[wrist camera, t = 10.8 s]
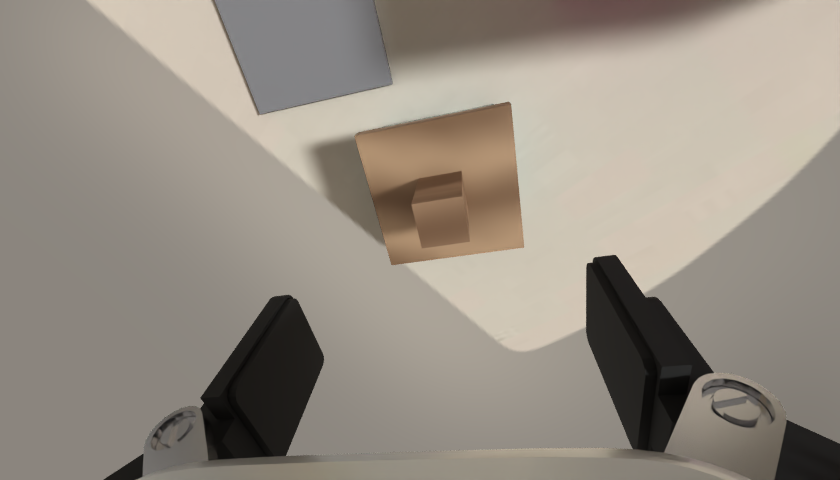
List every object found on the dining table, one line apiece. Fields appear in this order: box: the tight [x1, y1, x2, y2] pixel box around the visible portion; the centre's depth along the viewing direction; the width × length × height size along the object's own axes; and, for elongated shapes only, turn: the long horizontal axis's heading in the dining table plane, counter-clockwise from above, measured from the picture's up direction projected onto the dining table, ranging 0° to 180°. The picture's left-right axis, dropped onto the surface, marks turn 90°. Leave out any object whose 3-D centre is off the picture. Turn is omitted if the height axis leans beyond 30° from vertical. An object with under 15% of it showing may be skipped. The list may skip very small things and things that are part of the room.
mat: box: [215, 0, 393, 114], centre depth 28 cm, size 14×12×1 cm
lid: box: [354, 102, 524, 265], centre depth 26 cm, size 11×11×6 cm
